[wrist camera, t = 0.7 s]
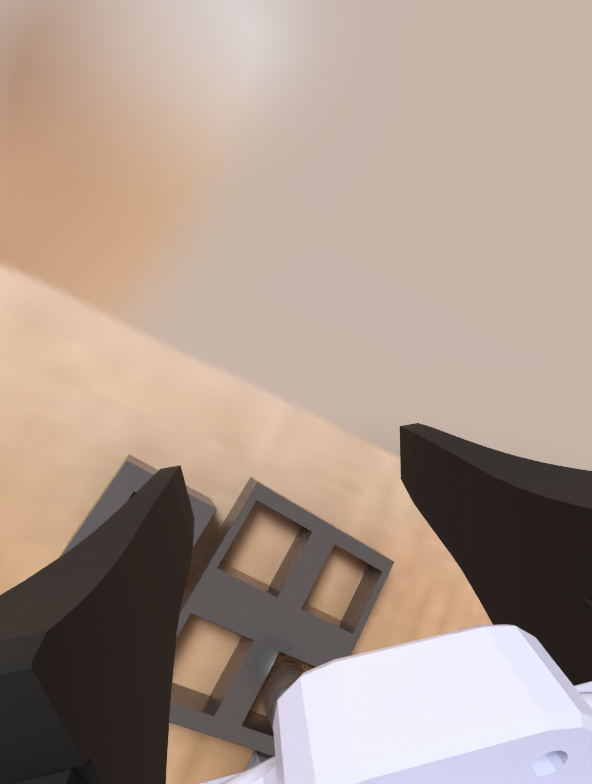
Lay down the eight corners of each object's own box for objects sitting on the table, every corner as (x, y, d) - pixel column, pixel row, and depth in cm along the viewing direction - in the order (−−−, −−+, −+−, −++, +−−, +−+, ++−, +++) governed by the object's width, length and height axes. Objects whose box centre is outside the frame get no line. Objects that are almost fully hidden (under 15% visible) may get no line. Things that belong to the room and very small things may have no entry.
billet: (288, 712, 31) (324, 794, 25) (249, 698, 30) (276, 779, 23) (311, 665, 32) (352, 731, 26) (274, 648, 31) (307, 714, 24)
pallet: (290, 742, 31) (299, 764, 29) (126, 686, 27) (124, 707, 25) (381, 553, 35) (394, 561, 33) (250, 477, 31) (257, 482, 29)
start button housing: (158, 583, 28) (159, 603, 25) (68, 542, 26) (58, 559, 23) (210, 498, 29) (216, 508, 27) (128, 454, 27) (126, 460, 24)
